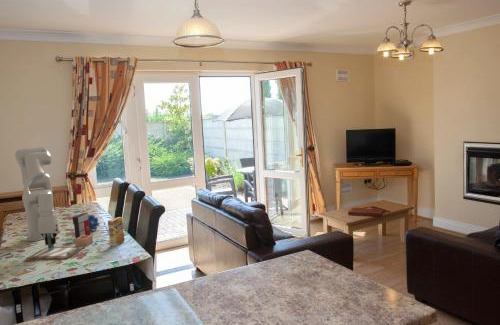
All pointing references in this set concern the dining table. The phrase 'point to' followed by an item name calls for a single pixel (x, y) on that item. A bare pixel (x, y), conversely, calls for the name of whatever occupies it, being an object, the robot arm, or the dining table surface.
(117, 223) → the candy box
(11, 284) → the dining table surface
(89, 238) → the pen cup
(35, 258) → the clipboard
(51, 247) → the marker
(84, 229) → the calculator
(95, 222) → the grapes
